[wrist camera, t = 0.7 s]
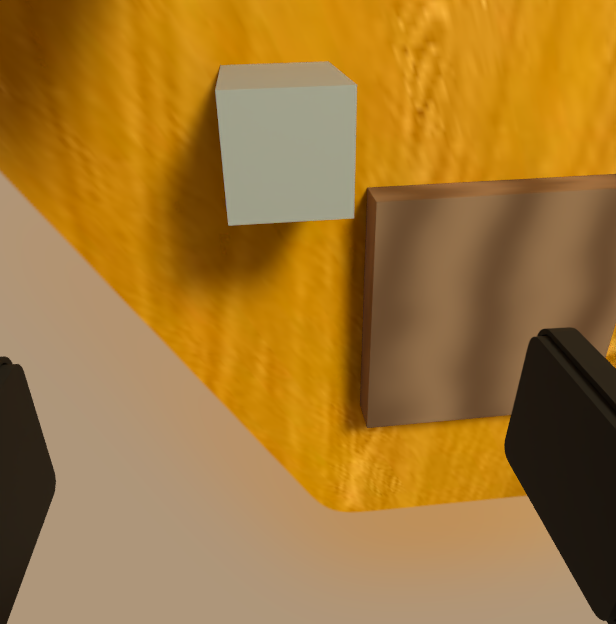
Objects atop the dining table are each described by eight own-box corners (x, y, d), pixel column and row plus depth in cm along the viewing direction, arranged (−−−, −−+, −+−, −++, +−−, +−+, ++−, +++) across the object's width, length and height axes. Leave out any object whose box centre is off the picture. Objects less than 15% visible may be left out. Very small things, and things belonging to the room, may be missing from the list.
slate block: (328, 61, 29) (356, 84, 22) (328, 167, 32) (354, 218, 25) (220, 65, 28) (214, 90, 21) (230, 172, 31) (228, 225, 24)
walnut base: (629, 173, 34) (656, 186, 32) (572, 385, 42) (590, 407, 40) (367, 187, 32) (376, 201, 30) (360, 404, 40) (366, 427, 38)
